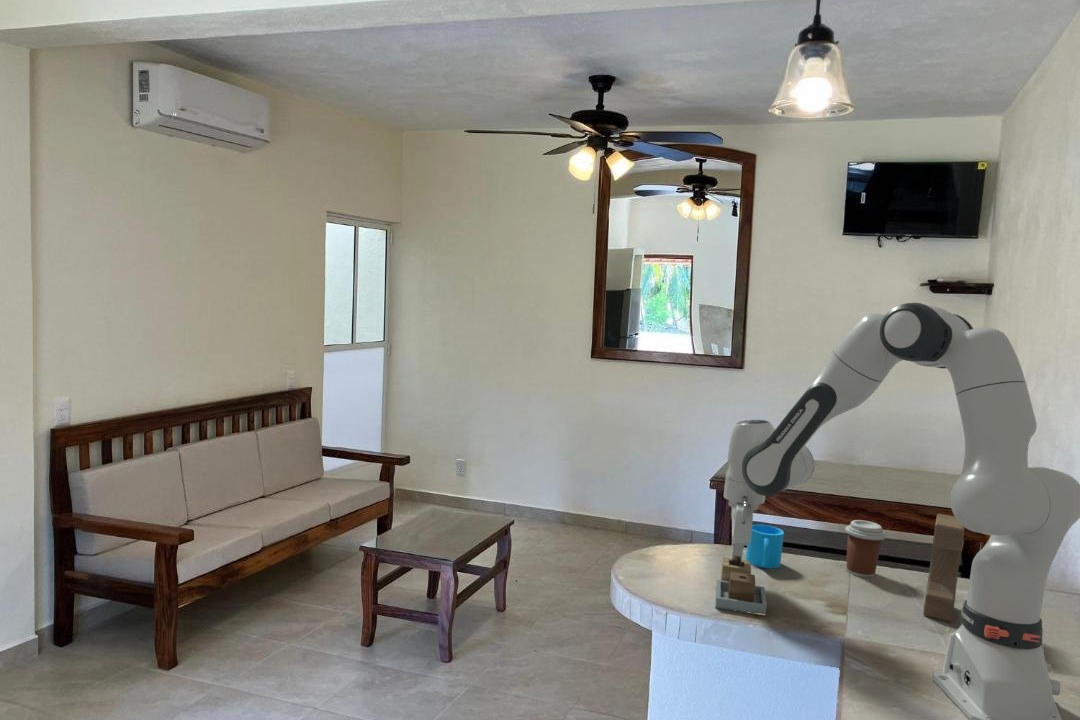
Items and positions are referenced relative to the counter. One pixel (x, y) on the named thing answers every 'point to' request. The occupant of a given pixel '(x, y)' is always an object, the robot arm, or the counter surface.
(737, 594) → the block
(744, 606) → the tray
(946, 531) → the decorative block
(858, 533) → the coffee cup
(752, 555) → the mug
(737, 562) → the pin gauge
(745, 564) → the block
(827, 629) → the counter surface
